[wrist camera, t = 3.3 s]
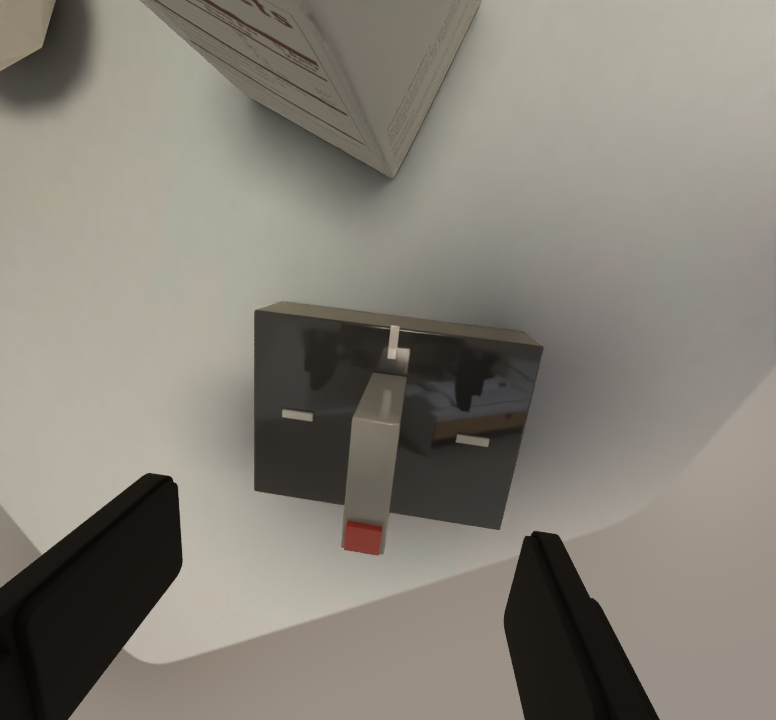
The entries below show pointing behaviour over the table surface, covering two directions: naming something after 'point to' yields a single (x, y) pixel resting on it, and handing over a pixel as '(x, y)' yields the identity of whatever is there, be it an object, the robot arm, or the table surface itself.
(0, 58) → the ball
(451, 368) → the panel
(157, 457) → the table surface
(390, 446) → the box with red button
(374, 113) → the white packaging box
